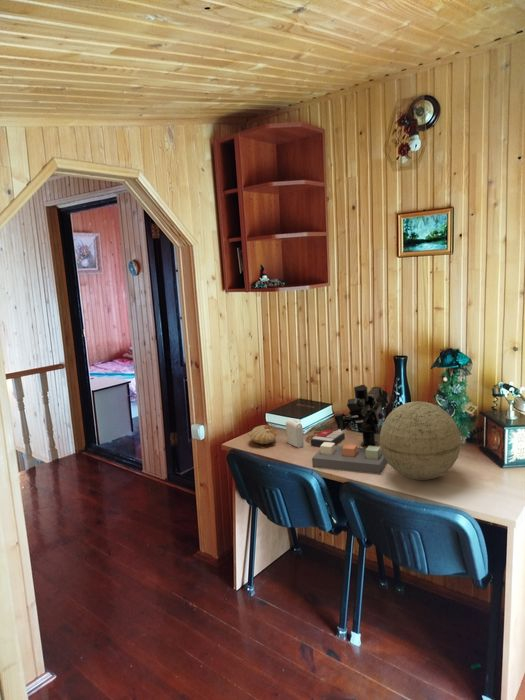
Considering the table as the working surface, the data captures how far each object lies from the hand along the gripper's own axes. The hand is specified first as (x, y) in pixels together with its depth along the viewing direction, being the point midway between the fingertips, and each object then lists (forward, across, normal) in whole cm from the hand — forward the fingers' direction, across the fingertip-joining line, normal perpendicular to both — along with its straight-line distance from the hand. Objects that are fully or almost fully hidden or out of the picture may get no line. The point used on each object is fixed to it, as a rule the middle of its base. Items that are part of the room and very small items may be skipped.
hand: (351, 428), depth 216 cm
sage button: (0, +5, +15) cm, 16 cm away
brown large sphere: (+6, +25, +21) cm, 33 cm away
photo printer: (-14, -37, +12) cm, 41 cm away
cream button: (0, -14, +11) cm, 18 cm away
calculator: (-21, -24, +17) cm, 35 cm away
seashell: (-15, -53, +9) cm, 56 cm away
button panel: (+1, -5, +16) cm, 17 cm away
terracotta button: (0, -4, +13) cm, 14 cm away
